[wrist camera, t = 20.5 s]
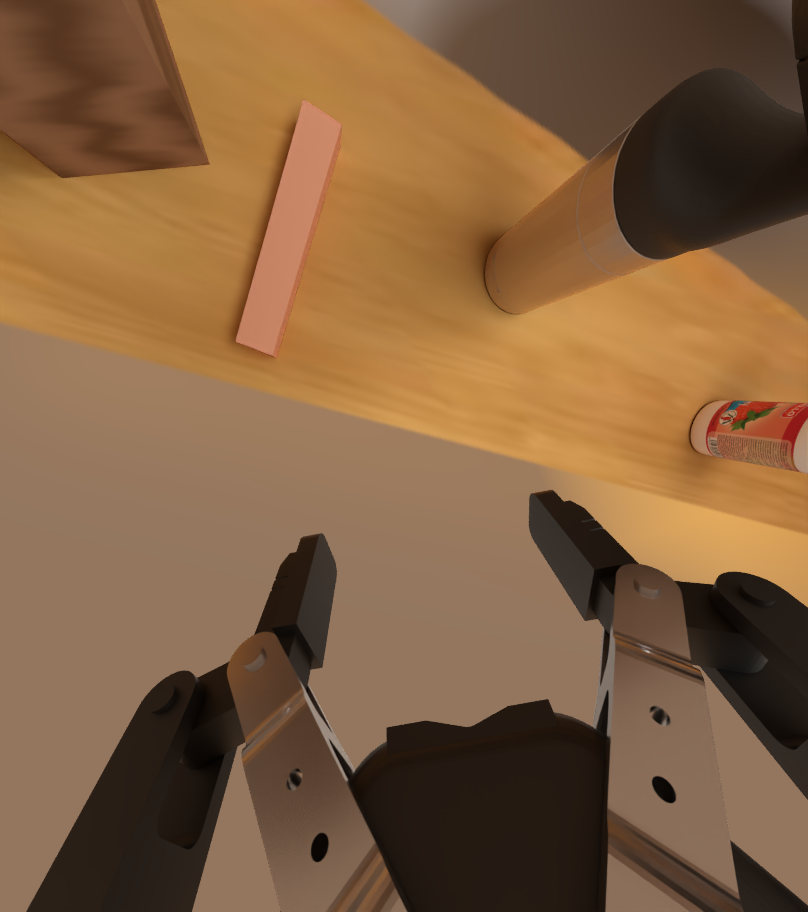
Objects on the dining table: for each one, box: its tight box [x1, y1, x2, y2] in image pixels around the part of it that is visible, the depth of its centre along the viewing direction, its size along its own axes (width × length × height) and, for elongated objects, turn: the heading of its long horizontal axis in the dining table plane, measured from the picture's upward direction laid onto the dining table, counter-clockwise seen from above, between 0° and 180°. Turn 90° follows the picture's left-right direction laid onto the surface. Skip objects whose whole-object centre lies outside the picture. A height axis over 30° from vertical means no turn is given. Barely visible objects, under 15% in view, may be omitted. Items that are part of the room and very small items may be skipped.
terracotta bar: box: [236, 99, 342, 358], centre depth 30 cm, size 4×22×3 cm, turn 159°
